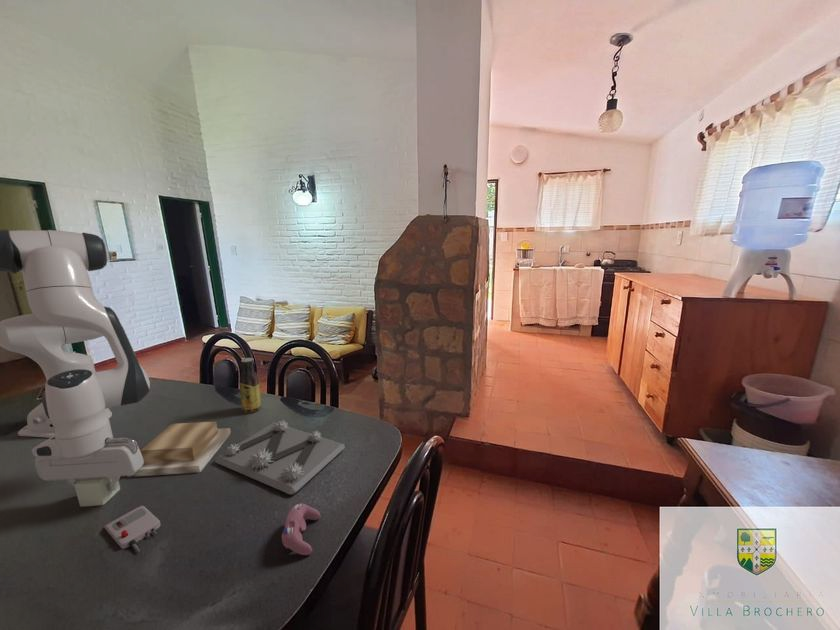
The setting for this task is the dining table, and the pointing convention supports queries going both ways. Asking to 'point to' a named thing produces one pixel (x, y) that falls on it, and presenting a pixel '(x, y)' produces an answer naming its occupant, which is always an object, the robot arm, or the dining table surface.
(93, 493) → the sage block
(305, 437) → the decorative plate
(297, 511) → the video game controller
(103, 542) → the dining table surface
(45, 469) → the robot arm
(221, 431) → the stacking base
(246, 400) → the sauce bottle
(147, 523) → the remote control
